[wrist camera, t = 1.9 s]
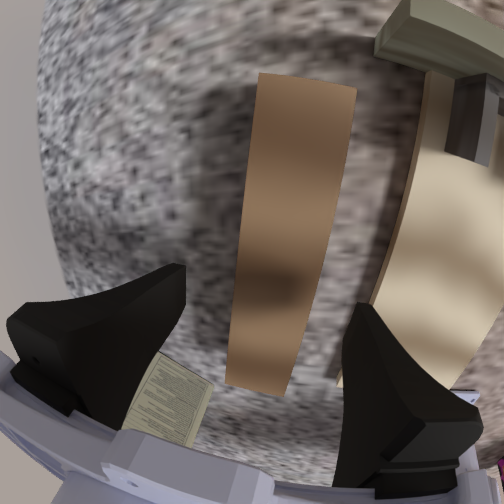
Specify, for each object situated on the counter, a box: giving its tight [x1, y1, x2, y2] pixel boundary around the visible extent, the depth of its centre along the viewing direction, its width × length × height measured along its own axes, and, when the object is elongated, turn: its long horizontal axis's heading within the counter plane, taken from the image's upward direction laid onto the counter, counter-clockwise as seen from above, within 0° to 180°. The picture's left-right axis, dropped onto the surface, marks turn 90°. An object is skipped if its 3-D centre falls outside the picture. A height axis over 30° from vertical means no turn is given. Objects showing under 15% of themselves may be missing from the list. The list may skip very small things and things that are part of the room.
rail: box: [225, 73, 357, 397], centre depth 16 cm, size 18×4×4 cm, turn 173°
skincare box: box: [121, 352, 214, 448], centre depth 20 cm, size 6×4×12 cm
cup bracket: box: [337, 0, 504, 390], centre depth 12 cm, size 23×16×7 cm
